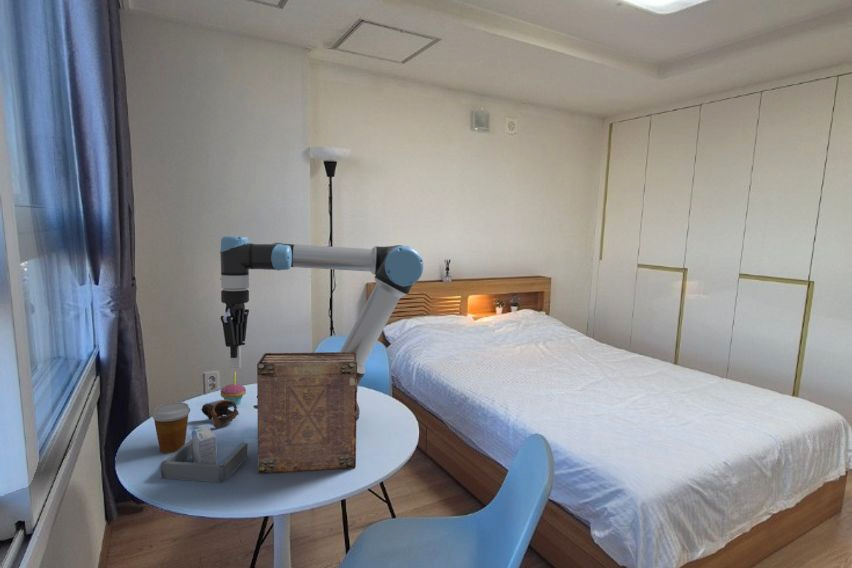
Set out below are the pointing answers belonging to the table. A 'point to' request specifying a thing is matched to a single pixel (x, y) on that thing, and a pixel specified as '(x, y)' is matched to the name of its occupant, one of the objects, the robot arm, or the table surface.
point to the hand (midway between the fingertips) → (236, 367)
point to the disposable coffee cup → (171, 425)
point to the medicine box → (204, 446)
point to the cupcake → (233, 392)
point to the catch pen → (200, 465)
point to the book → (306, 411)
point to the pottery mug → (220, 412)
